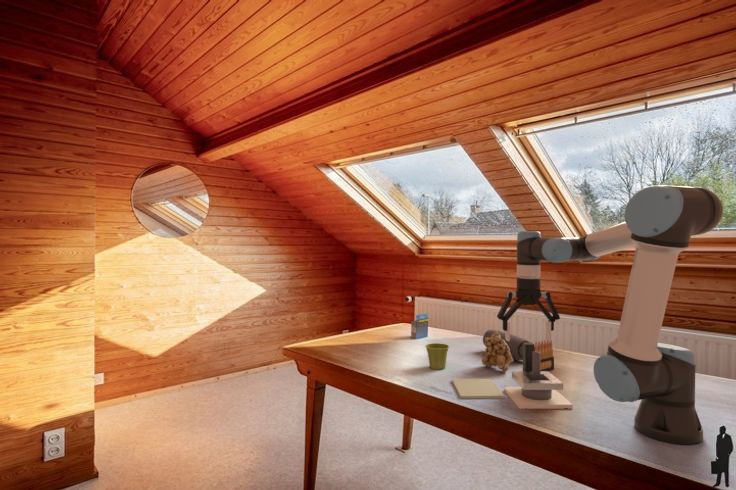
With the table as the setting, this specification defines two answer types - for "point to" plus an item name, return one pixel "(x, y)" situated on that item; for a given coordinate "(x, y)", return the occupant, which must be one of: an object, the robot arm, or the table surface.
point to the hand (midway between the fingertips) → (527, 340)
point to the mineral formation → (497, 352)
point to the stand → (537, 393)
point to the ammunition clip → (545, 355)
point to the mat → (477, 388)
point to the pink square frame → (525, 376)
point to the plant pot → (437, 355)
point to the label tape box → (419, 327)
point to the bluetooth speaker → (510, 343)
